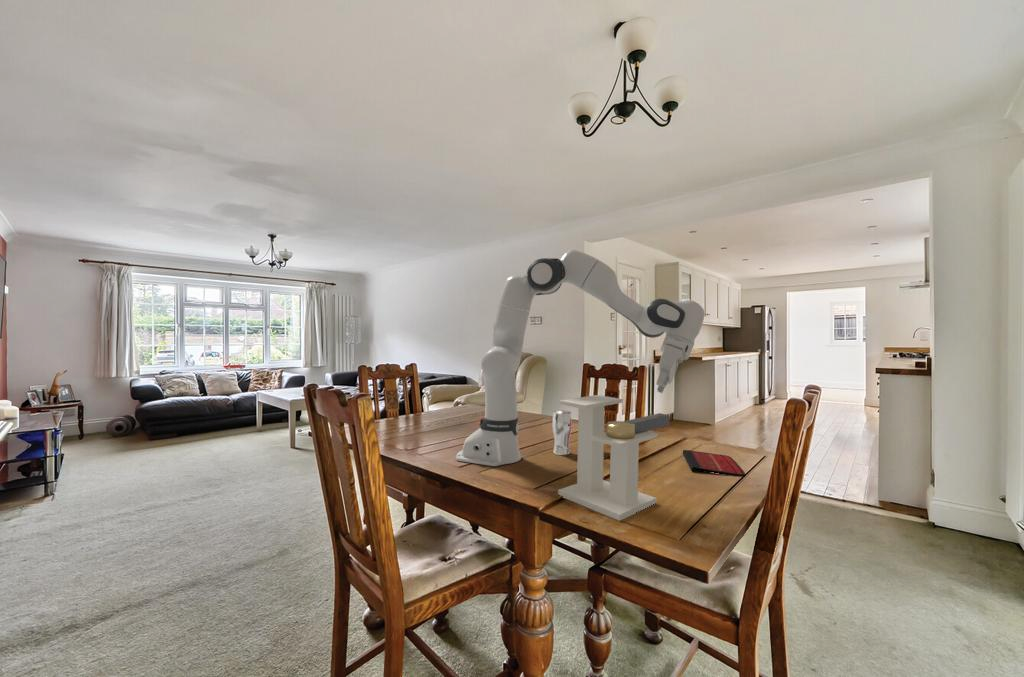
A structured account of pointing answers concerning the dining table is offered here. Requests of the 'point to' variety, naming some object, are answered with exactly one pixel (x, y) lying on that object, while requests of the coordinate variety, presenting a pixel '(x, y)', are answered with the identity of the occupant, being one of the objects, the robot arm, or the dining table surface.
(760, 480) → the dining table surface
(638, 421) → the grey and gold bar
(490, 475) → the dining table surface
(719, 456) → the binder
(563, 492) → the rack
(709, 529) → the dining table surface
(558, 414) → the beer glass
